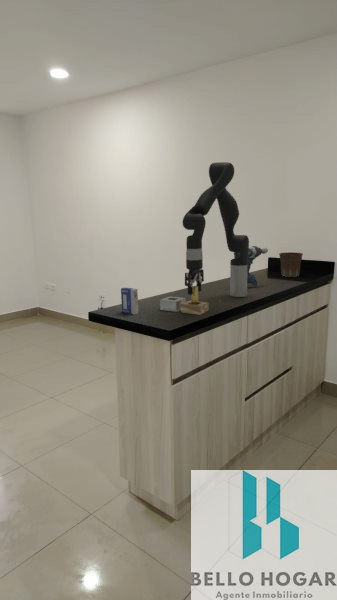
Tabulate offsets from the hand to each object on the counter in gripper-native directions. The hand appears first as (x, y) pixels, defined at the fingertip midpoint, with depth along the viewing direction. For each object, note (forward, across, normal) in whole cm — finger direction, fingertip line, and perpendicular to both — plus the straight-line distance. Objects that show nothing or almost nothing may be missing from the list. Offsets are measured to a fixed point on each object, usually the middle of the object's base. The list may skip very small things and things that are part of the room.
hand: (194, 293), depth 192 cm
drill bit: (+9, 0, 0) cm, 9 cm away
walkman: (+9, +16, -26) cm, 32 cm away
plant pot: (+9, -125, +10) cm, 126 cm away
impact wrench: (+9, -73, 0) cm, 73 cm away
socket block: (+9, 0, -12) cm, 15 cm away
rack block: (+9, 0, 0) cm, 9 cm away
